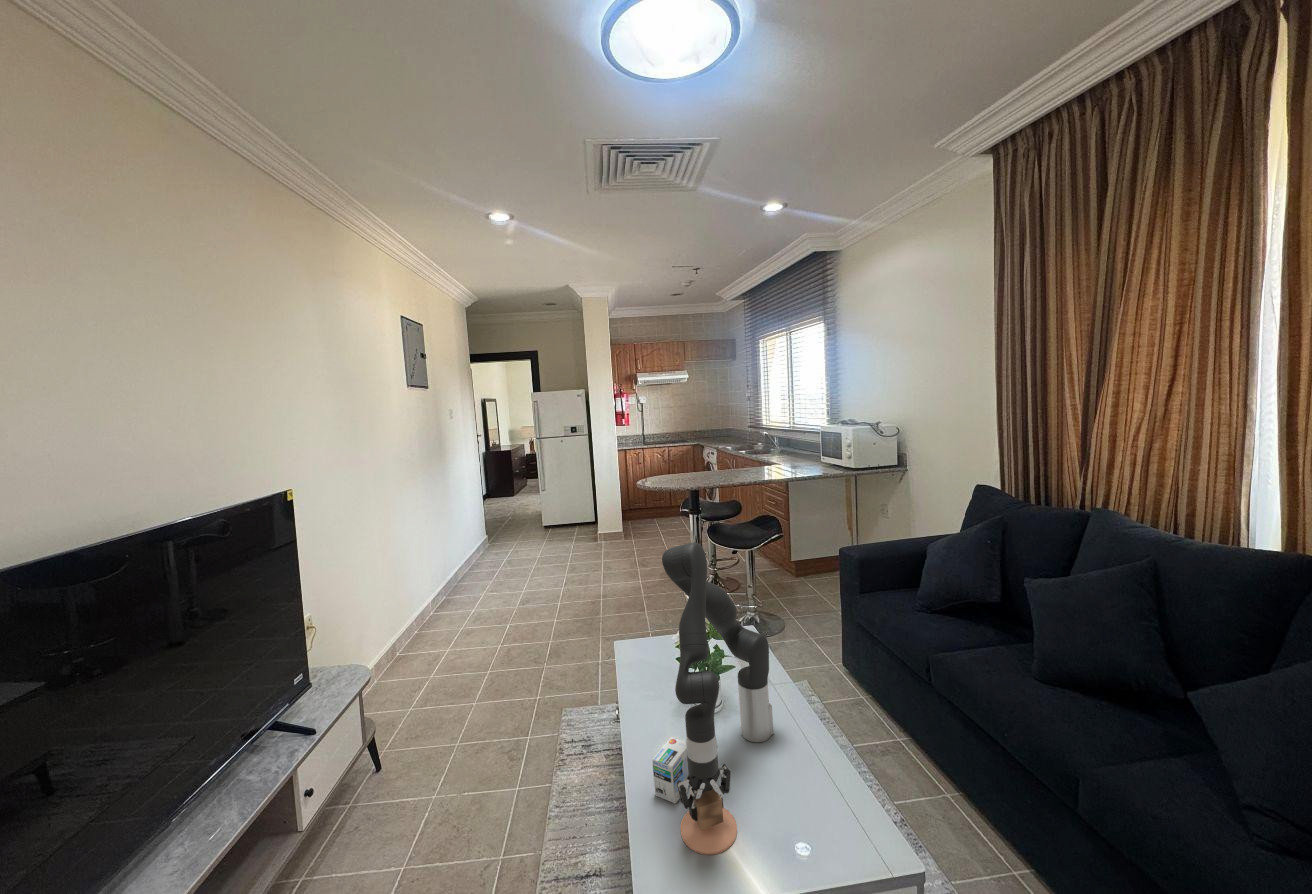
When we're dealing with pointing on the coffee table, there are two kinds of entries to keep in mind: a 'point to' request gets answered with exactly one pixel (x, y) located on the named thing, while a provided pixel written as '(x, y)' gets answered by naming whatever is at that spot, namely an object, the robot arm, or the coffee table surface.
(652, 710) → the coffee table surface
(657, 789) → the light bulb box
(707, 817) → the walnut cube
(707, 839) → the terracotta coaster
